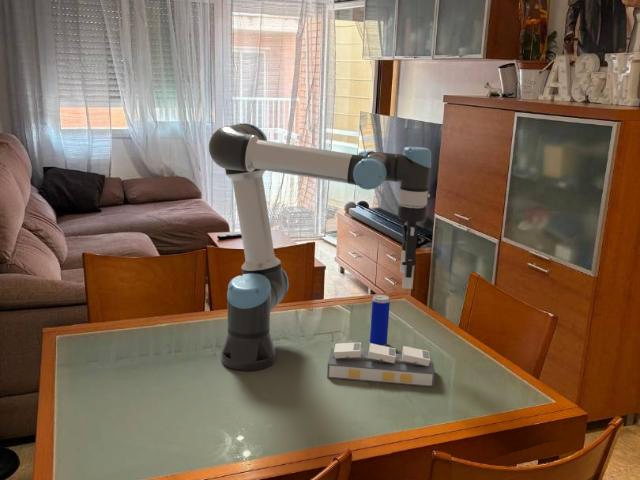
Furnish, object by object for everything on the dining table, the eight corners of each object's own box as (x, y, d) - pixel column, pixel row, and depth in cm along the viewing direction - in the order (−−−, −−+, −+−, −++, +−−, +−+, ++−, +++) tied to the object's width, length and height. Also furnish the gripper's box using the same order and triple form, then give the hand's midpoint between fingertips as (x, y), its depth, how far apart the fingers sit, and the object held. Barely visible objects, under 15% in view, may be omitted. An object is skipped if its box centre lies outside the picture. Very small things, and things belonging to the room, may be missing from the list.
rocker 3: (401, 362, 163) (403, 353, 162) (401, 353, 168) (403, 345, 168) (428, 367, 162) (430, 359, 162) (426, 358, 168) (428, 350, 167)
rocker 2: (367, 359, 164) (369, 351, 163) (368, 350, 169) (370, 342, 169) (393, 365, 163) (395, 356, 163) (393, 356, 169) (395, 348, 168)
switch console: (326, 378, 164) (327, 362, 162) (330, 361, 174) (331, 346, 173) (433, 387, 161) (435, 371, 160) (431, 369, 171) (432, 354, 170)
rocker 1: (334, 360, 165) (333, 351, 164) (336, 351, 170) (335, 343, 170) (360, 358, 164) (359, 350, 163) (361, 350, 169) (360, 341, 169)
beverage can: (386, 341, 189) (389, 294, 185) (386, 347, 184) (390, 300, 180) (369, 339, 189) (372, 293, 186) (369, 346, 185) (372, 299, 181)
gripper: (430, 215, 153) (422, 296, 159) (423, 197, 177) (416, 268, 183) (400, 213, 154) (393, 293, 159) (397, 196, 178) (391, 266, 183)
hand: (405, 280), depth 171 cm, fingers open, 13 cm apart
